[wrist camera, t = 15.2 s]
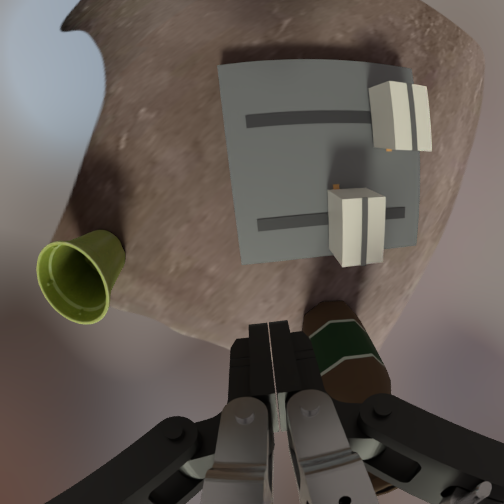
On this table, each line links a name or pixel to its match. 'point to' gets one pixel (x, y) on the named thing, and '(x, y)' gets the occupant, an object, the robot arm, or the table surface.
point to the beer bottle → (347, 360)
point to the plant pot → (81, 275)
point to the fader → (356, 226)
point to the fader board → (309, 153)
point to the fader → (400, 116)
